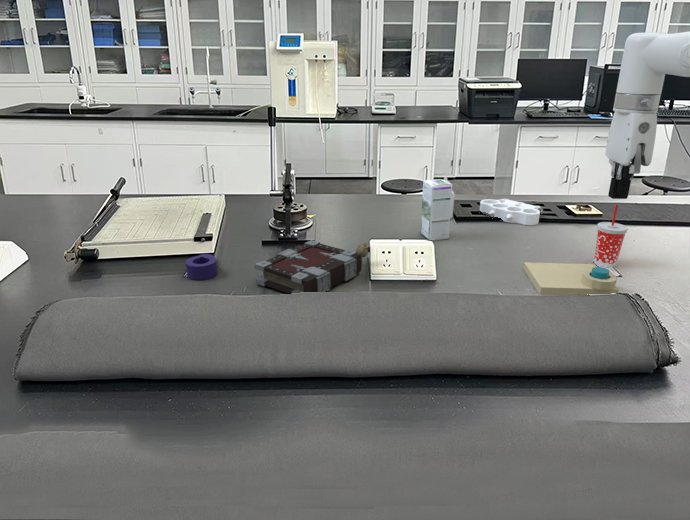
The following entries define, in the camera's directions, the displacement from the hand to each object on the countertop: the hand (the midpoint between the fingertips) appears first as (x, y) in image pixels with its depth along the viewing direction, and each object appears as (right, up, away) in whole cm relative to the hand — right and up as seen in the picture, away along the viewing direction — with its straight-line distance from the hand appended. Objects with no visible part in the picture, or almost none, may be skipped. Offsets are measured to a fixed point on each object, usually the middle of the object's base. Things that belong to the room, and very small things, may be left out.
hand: (617, 197), depth 107 cm
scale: (-8, -17, +4) cm, 20 cm away
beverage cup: (+4, -14, +14) cm, 20 cm away
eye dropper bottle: (-27, -1, +45) cm, 53 cm away
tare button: (-4, -16, -1) cm, 17 cm away
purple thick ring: (-86, -15, +10) cm, 88 cm away
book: (-60, -16, +8) cm, 63 cm away
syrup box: (-32, -7, +31) cm, 45 cm away
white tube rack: (-7, 0, +47) cm, 47 cm away
